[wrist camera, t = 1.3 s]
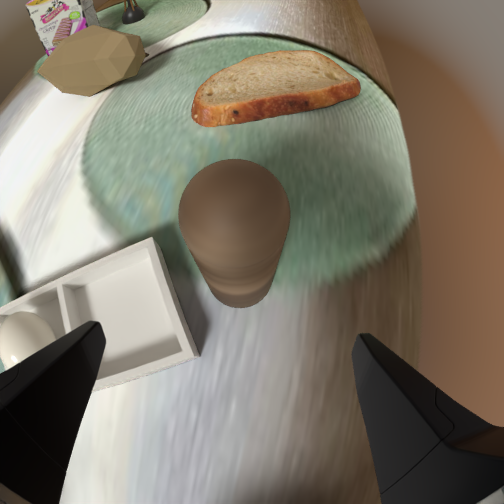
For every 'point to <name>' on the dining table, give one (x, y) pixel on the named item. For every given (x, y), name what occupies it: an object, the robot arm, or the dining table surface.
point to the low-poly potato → (93, 60)
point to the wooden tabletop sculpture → (132, 13)
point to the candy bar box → (60, 19)
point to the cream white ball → (23, 337)
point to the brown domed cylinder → (235, 228)
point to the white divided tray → (119, 312)
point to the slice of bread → (272, 88)
